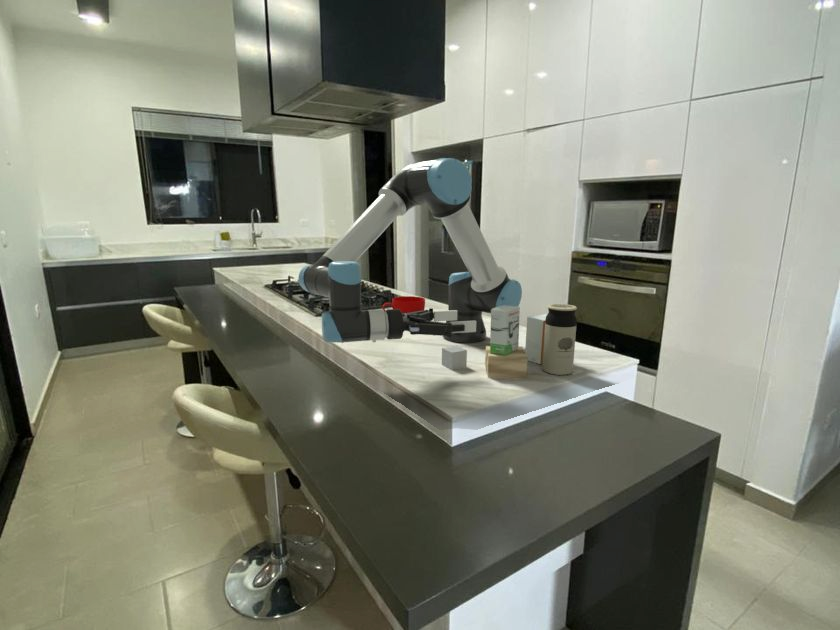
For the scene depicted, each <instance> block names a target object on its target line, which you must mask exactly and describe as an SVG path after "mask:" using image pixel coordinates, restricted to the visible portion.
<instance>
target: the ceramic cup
mask: <svg viewBox="0 0 840 630" xmlns="http://www.w3.org/2000/svg"><path fill="white" fill-rule="evenodd" d="M387 305H388V306H391V308H392V309H400V310H401V312H402V313H410V312H416V311H422V310H426V309H425V308H426V298H424V297H420V296H409V295H408V296H407V295H406V296H396V297H393V298H392V299H391V302H385V303H383V305H382V309H383V310H384V312H385V311H386V309H385V306H387Z"/></svg>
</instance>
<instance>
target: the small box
mask: <svg viewBox="0 0 840 630" xmlns="http://www.w3.org/2000/svg"><path fill="white" fill-rule="evenodd" d="M547 314H548V313H544V314H535V315H532V316H527V317H526V330H525V331H526V332H525V333H526V334H525V348H524V352H525V353H526V355H527V357H528V360H527V361H529V362H532V363H535V364H538V365H543V351H544V335H545V320H546V316H547Z"/></svg>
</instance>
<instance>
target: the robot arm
mask: <svg viewBox="0 0 840 630" xmlns="http://www.w3.org/2000/svg"><path fill="white" fill-rule="evenodd" d="M472 179H473V178H472V176H471V173H470V170H469V169H468V167H467V166H466V165H465V164H464V163H463V162H462V161H461V160H459V159H458V158H457V159H456V158H453V157H452V158H451V157H448V158H447V157H440V158H436V159H431V160H425V161H424V160H423V161H417V162H412V163H410V164H408V165H406V166H404V167H403V168H401V169H400V170H399V171H397V172H396V173H395V174H394V175H393V176H392V177H391V178H390V179H389V180H388V181H387V182H386V183H385V184H384V185H383V186H382V187H380V189H379V191H378V197H377V198H376V199H375V200H374V201H373V202H372V203H371V204H370V205H369V206H368V207H367V208H366V209H365V210H364V211H363V213H362V214H360V215H359V217H358V218H356V220H355V221H354V222H353V223H352V224H351V225H350V227H348V228H347V229H346V231H344V233H342V234H341V236H340V237H339V238H337V240H336V241H335V242H334V243H333V244H332V246H330V247H329V248H328V249H327V250H326V251H325V252H324V253H323V255H322V256H321V257H320V258H319V259H318V260H316V262H315V263H311V264H307V265H305V266H303V267H302V268H301V269H300V270H299V273H298V284H299V286H300V287H301V288H302V290H304V291H305V292H307V293H310V294H312V295H316V296H321V297H325V298H329V299H328V300H329V310H328V311H325V312H322V314H321V333H322V334H321V336H322V339H323V341H324V342H325V343H342V344H343V343H353V342H366V341H367V342H368V341H372V343H376V342H377V341H384V340H385V339H387V340H388V341H389V340H400V339H401V340H402V338H403V337H404V332H409V334H410V335H412V336H414V335H425V336H439V337H440V336H441V337H442V338H443V337H444V338H445V340H446V339H447V341H449V342H450V341H451V342H456V343H478V342H482V341H485V340H486V339H487V329H486V326H485V323H484V319H483V313H486V314H490V315H491V310H492V309H493V308H496V307H499V306H503V305H507V306H515V307H520V304H521V300H522V297H523V296H522V295H523V290H522V289H523V288H522V285H521V283H520V282H519V281H518V280H516V279H511V278H510V277H509V276H508V274H507V271H506V269H505V268H503V267H502V266H499V265H498V264H497V262H496V260H495V258H494V255H493V253H492V251H491V250H490V249H491V248H490V247H489V245H488V243H487V241H486V238H485V237H484V235H483V232H482V230H481V228H480V226H479V224H478V222H477V220H476V217H475V216H474V214H473V212H472V209H471V207H470V205H469V204H470V201H471V197H472V196H471V193H472V190H473V189H472V188H473V186H472V185H471V184H472V183H473V180H472ZM418 206H427V208H428V209H429V211H430V213H431V215H432V217H433V218H434V219H438V220H441V222H442V224H443V226H444V227H445V229H446V231H447V233H448V235H449V237H450V239H451V241H452V243H453V245H454V246H455V248H456V251H457V252H458V254H459V255H460V256H459V257H460V258H461V259H462V261H463V263H464V266H465V267H466V269H467V271H461V272H453V273H451V274H450V276H449V277H448V278H449V279H448V288H447V289H448V305H447V307H448V310H434V308H431V307H430V308H428V309H424V310H422V311H416V312H410V313H402V312H401V310H400V309H393V308H392V309H389V308H388V309H385V312H384V310H383V308H382V309H380V308H379V309H367V310H362V276H361V274H362V273H361V265H360V264H359V262H357V261H358V260H359V259H360V258H361V257H362V256H363V255H364V254H365V252H366V251H367V250H368V249H369V248H370V247H371V246H372V245H373V244H374V243H375V242H376V241H377V240H378V238H379V237H380V236H381V235H382V234H383V233H384V232H385V231H386V230H387V229H388V227H389V226H390V225H391V224H392V223H393V222H394V221H395V220H396V219H397V217H398V216H400V217H401V216H404V215H406V213H407V212H408V211H410V210H411V209H412V208H415V207H418ZM444 338H443V339H444Z"/></svg>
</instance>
